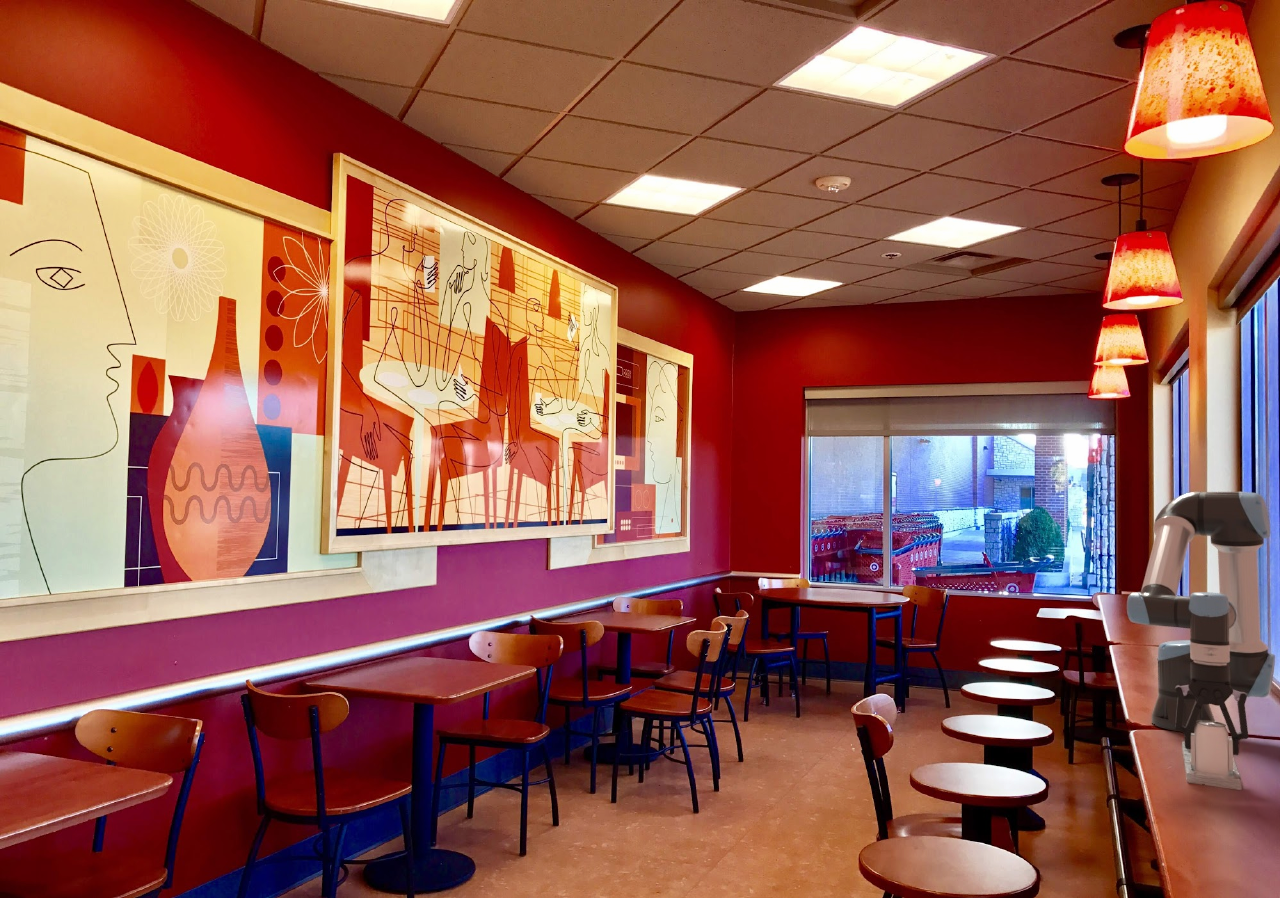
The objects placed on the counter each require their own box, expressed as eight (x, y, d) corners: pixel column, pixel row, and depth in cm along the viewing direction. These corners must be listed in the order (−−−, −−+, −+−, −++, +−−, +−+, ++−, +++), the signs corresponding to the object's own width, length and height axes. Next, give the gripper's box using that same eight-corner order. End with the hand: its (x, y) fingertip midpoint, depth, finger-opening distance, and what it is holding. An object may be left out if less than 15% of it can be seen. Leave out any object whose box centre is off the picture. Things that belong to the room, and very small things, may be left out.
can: (1224, 775, 204) (1223, 721, 205) (1232, 783, 198) (1231, 728, 199) (1191, 771, 206) (1190, 718, 207) (1198, 780, 200) (1198, 725, 201)
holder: (1182, 749, 225) (1182, 741, 225) (1230, 755, 220) (1230, 747, 220) (1186, 782, 198) (1186, 773, 199) (1241, 790, 194) (1241, 780, 194)
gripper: (1160, 660, 205) (1161, 763, 204) (1264, 669, 195) (1266, 778, 194) (1160, 655, 211) (1161, 755, 210) (1260, 664, 202) (1262, 769, 201)
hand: (1211, 766), depth 202 cm, fingers closed on can, 6 cm apart
